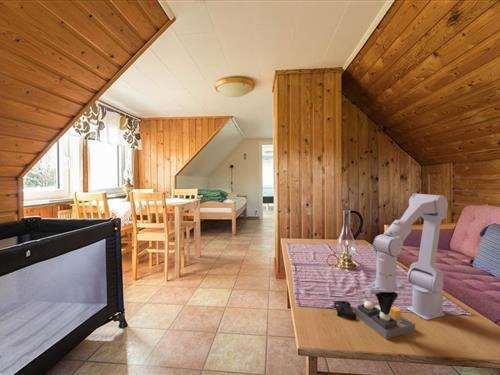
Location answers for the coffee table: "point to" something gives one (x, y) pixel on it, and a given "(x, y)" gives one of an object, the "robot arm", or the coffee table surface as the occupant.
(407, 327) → the control panel
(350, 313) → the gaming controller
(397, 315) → the slider knob
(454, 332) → the coffee table surface
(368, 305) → the white button
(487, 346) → the coffee table surface
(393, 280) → the robot arm
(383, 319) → the green button
